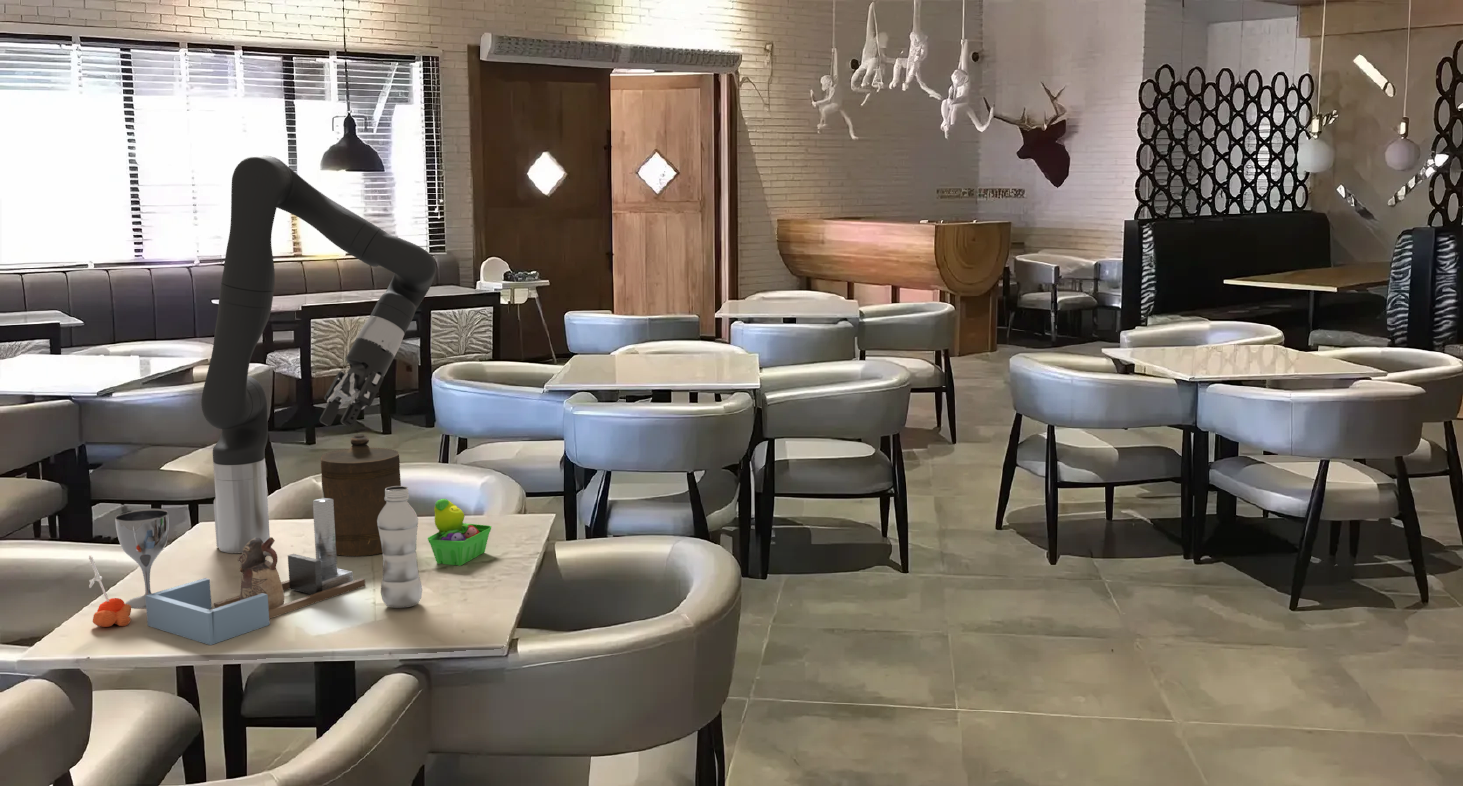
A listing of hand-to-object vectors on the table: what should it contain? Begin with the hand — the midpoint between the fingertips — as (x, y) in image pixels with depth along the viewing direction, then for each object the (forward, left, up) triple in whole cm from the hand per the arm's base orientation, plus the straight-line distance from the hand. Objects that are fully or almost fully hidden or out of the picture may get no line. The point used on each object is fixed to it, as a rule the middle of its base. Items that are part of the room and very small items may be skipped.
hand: (334, 424), depth 222 cm
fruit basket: (+13, +16, -27) cm, 34 cm away
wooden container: (-8, +12, -27) cm, 31 cm away
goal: (+6, -31, -27) cm, 42 cm away
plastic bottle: (+25, -9, -27) cm, 38 cm away
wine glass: (-13, -30, -27) cm, 42 cm away
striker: (+6, -9, -27) cm, 29 cm away
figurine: (+6, -22, -27) cm, 35 cm away
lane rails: (+6, -16, -27) cm, 32 cm away
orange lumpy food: (-7, -40, -27) cm, 49 cm away
